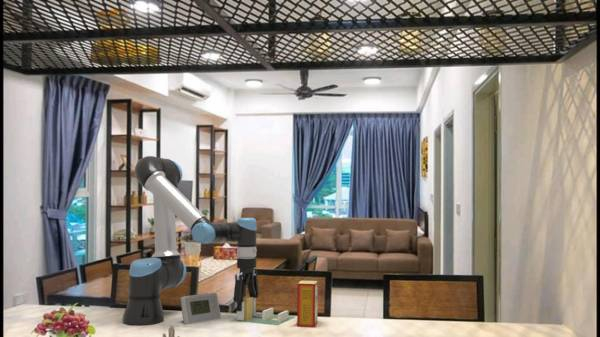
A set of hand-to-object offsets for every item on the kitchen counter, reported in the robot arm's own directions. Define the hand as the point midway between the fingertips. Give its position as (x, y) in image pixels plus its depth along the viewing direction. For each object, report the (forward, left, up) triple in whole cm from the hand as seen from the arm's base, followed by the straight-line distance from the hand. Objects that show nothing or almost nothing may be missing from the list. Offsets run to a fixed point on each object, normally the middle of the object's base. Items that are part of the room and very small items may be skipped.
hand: (246, 317), depth 186 cm
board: (+6, +3, -2) cm, 7 cm away
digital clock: (-14, -10, -2) cm, 17 cm away
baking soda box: (+23, +6, -2) cm, 24 cm away
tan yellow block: (0, -1, -1) cm, 1 cm away
